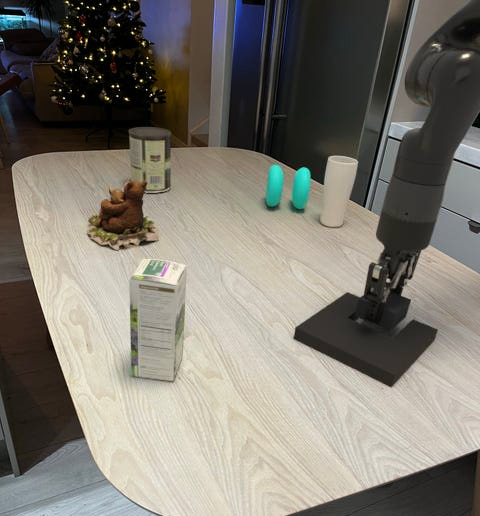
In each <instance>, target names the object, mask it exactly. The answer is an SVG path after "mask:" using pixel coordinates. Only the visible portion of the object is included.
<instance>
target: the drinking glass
mask: <svg viewBox="0 0 480 516" xmlns="http://www.w3.org/2000/svg"><path fill="white" fill-rule="evenodd" d="M358 165H359V161H358V160H357V159H355V158H353V157H350V156H344V155H330V156H328V157H327V161H326V167H325V171H324V172H325V173H324V180H323V189H322V191H323V192H322V203H321V213H320V218H319V221H320V224H322V225H323V226H325V227H329V228H339V227H341V226H342V225H343V224H344V219H345V215H346V211H347V209H348V204H349V202H350V198H351V195H352V191H353V188H354V184H355V181H356V177H357V172H358Z"/></svg>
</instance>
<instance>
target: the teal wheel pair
mask: <svg viewBox="0 0 480 516" xmlns="http://www.w3.org/2000/svg"><path fill="white" fill-rule="evenodd" d="M293 177H294V178H293V180H292V189H291V201H292V204H293V207H295V208H296V209H298V210H303V209H304V208H306V206H307V204H308V201H309V197H310V190H311V177H312V176H311V171H310V170H309V168H307V167H300V168H299V169H297V170H296V173H294V176H293ZM266 182H267V183H266V192H265V193H266V194H265V201H266V204H267V206H268V207H272V208H273V207H276V206H277V205H278V204H279V203H280V201H281V199H282V195H283V188H284V172H283V169H282V167H281V166H280V165H278V164H273V165H271V166H270V167H269V169H268V175H267V181H266Z"/></svg>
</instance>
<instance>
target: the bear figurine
mask: <svg viewBox="0 0 480 516" xmlns="http://www.w3.org/2000/svg"><path fill="white" fill-rule="evenodd" d="M146 185H147V181H145V180H144V181H143V182H142V183H140V182H138V181H131V180H129V181H127V182H125V183H124V184H123V190H122V189H120V188H116V189H112V187H108V193H109V195H110V197H109V199H110V200H109V199H108V198H103V199H102V201H101V202H100V209H99V212H98V214H94V215H91V216H89V218H88V220H87V222H88V223H89V226H90V225H91V226H90V227H88V229H87V231H86V234H87V235H89V236H90V238H91V239H90V240H93V241H95V242H96V243H98V244H99V245H100V246H104V245H109V247H110V248H112V249H114V250H116V251H119V250H120V246H124V247H125V248H132V247H138V246H139V245H140V243H141V242H142V241H146V242H149V241H151V242H152V241H159V240H160V239H159V238H160V236H159V235H160V232H159V230H160V229H159V227H158V226H155V221H154V220H149V219H148V218H149V215H147V216H145V215H144V210H143V209H144V208H143V205H144V199H143V198H144V195H145V193H144V192H145V187H146Z"/></svg>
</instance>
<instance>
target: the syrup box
mask: <svg viewBox="0 0 480 516" xmlns="http://www.w3.org/2000/svg"><path fill="white" fill-rule="evenodd" d="M187 270H188V266H187V265H186V264H185V263H184V264H183V263H180V262H175V261H171V260H165V259H155V258H142V260H141V262H140V264H139V265H138V266H137V268H136V269H135V270H134V272H133V274H132V275H131V277H130V279H129V282H128V283H129V285H128V286H129V331H130V333H129V334H130V368H131V369H130V374H131V376H132V377H135V378H136V377H137V378H142V379H143V378H144V379H151V380H152V379H153V380H159V381H167V382H174V381H175V379H176V376H177V374H178V370H179V368H180V365H181V362H182V359H183V356H184V338H185V334H184V333H185V319H186V316H185V315H186V296H187V295H186V293H187Z"/></svg>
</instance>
